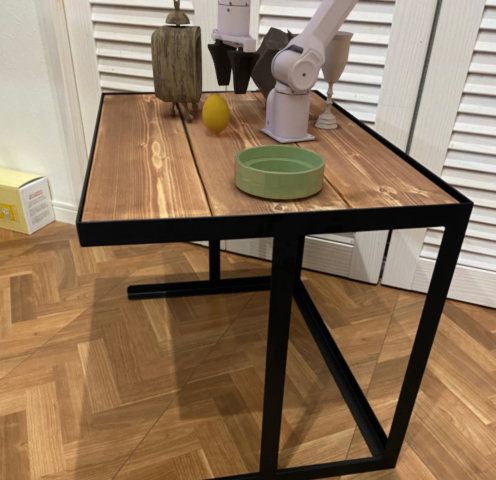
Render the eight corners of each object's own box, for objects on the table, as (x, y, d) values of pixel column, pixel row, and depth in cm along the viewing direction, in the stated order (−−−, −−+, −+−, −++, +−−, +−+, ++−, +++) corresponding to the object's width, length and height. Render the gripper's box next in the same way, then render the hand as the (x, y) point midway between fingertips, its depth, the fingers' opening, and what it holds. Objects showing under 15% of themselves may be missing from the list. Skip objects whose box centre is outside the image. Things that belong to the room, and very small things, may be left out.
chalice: (340, 131, 110) (353, 36, 99) (309, 128, 111) (318, 34, 100) (342, 122, 116) (354, 31, 105) (312, 120, 117) (321, 30, 106)
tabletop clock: (197, 125, 111) (192, -13, 96) (155, 123, 111) (145, -15, 96) (203, 109, 123) (200, -17, 108) (165, 107, 123) (157, -18, 108)
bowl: (221, 176, 86) (221, 149, 83) (295, 167, 91) (297, 141, 88) (257, 208, 75) (259, 178, 73) (338, 195, 80) (342, 167, 78)
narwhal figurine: (301, 103, 130) (308, 21, 119) (315, 119, 118) (325, 29, 107) (245, 103, 128) (247, 20, 117) (255, 119, 116) (258, 28, 105)
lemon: (215, 130, 108) (214, 89, 104) (235, 135, 106) (235, 93, 101) (197, 135, 105) (195, 93, 100) (217, 140, 102) (216, 98, 97)
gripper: (197, 0, 92) (198, 82, 100) (230, 8, 82) (228, 99, 90) (232, 1, 95) (230, 81, 103) (269, 9, 85) (263, 97, 93)
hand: (231, 89), depth 97 cm, fingers open, 7 cm apart
